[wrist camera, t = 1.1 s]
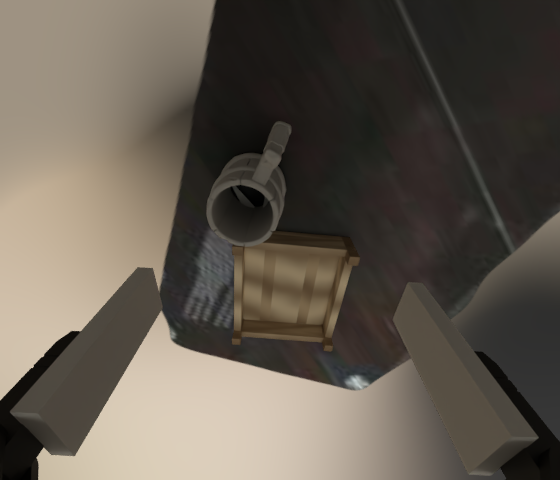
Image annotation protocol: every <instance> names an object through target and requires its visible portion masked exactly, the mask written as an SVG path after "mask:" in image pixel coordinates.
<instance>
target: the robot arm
mask: <svg viewBox="0 0 560 480" xmlns="http://www.w3.org/2000/svg"><path fill="white" fill-rule="evenodd" d="M162 308H163V306H162V302H161V298H160V295H159V291H158V287H157V283H156V279H155V275H154V271H153V268H139V267H138V268H137V269H136V270H135V271H134V272H133V273H132V275H131V276H130V277H129V278H128V279H127V280H126V281H125V282H124V283H123V285H122V286H121V287H120V288H119V289H118V290H117V291H116V292H115V294H114V295H113V296H112V297H111V298H110V299H109V300H108V301H107V303H106V304H105V305H104V306H103V307H102V308H101V309H100V310H99V312H98V313H97V314H96V315H95V316H94V317H93V319H92V320H91V321H90V322H89V323H88V324H87V325H86V326H85V327H84V329H83V330H82V331H80V332H79V331H71V332H70V333H69V334H67V335H65V336H64V337H62V338H61V339H60V340H58V341H57V342H56V343H55V344H54V345H53V346H52V347H51V348H50V349H49V350H48V351H47V352H46V353H45V354H44V357H42V358H40V360H39V361H38V362H37V363H36V364H35V365H34V367H33V368H31V369H30V370H29V371H28V372H27V373H26V374H25V375H24V376H23V377H22V378H21V380H19V382H18V383H17V384H16V385H15V386H14V387H13V388H12V389H11V390H10V391H9V392H8V393H7V394H6V395H5V396H4V397H3V398H2V399H1V400H0V480H38V461H37V458H36V457H37V456H38V455H39V453H40V451H41V450H42V449H43V447H44V448H45V449H46V450H47V451H48V452H49V453H50V454H51V455H65V456H75V455H76V453H77V451H78V449H79V448H80V446H81V444H82V443H83V441H84V439H85V438H86V436H87V434H88V433H89V431H90V429H91V428H92V426H93V424H94V423H95V421H96V419H97V418H98V416H99V414H100V412H101V411H102V409H103V407H104V406H105V404H106V402H107V401H108V399H109V397H110V396H111V394H112V392H113V390H114V389H115V387H116V386H117V384H118V382H119V380H120V379H121V377H122V375H123V374H124V372H125V370H126V369H127V367H128V365H129V364H130V362H131V360H132V359H133V357H134V355H135V354H136V352H137V350H138V348H139V346H140V345H141V343H142V342H143V340H144V338H145V337H146V335H147V333H148V332H149V330H150V328H151V326H152V325H153V323H154V321H155V320H156V318H157V316H158V315H159V313H160V311H161V310H162ZM393 322H394V324H395V326H396V328H397V330H398V332H399V334H400V336H401V338H402V340H403V342H404V344H405V346H406V348H407V350H408V352H409V354H410V356H411V358H412V360H413V362H414V365H415V367H416V369H417V371H418V372H419V374H420V377H421V379H422V381H423V383H424V385H425V387H426V389H427V391H428V393H429V395H430V397H431V399H432V401H433V403H434V405H435V407H436V409H437V411H438V414H439V416H440V417H441V420H442V422H443V424H444V426H445V427H446V430H447V432H448V434H449V436H450V438H451V440H452V442H453V444H454V446H455V448H456V450H457V452H458V454H459V456H460V458H461V460H462V462H463V464H464V467H465V469H466V471H467V473H468V474H469V475H492V474H493V473H495V472H496V471H497V470H498V469H500V468H501V470H502V472H503V473H504V475H505V477H506V480H560V442H559V440H558V439H557V438H556V437H555V436H554V435H553V433H552V432H551V431H550V430H549V429H548V427H547V426H546V425H545V423H544V422H543V421H542V420H541V418H540V417H539V416H538V415H537V413H536V412H535V411H534V410H533V408H532V407H531V406H530V405H529V404H528V402H527V401H526V400H525V399H524V397H523V396H522V395H521V394H520V392H517V388H516V387H515V386H514V385H513V384H512V382H511V381H510V380H508V378H507V376H506V375H505V374H504V373H503V371H502V370H501V369H500V367H499V366H498V365H497V364H496V363H495V362H494V361H492V360H491V359H490V358H489V357H488V356H487V355H486V354H484V353H483V352H476V351H473V350H472V348H471V347H470V346H469V344H468V343H467V342H466V340H465V339H464V338H463V336H462V335H461V334H460V332H459V331H458V330H457V328H456V327H455V326H454V324H453V323H452V322H451V320H450V319H449V318H448V316H447V315H446V314H445V312H444V311H443V310H442V308H441V307H440V306H439V304H438V303H437V302H436V300H435V299H434V298H433V296H432V295H431V294H430V292H429V291H428V290H427V288H426V287H425V286H424V284H423V283H411V282H408V283H407V286H406V288H405V291H404V293H403V295H402V298H401V300H400V303H399V305H398V308H397V310H396V313H395V315H394V318H393Z"/></svg>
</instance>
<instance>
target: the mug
mask: <svg viewBox="0 0 560 480" xmlns="http://www.w3.org/2000/svg"><path fill="white" fill-rule="evenodd" d="M290 134H291V125H290V124H287V123H285V122H282V121H278V122H275V124H274V126H273V127H272V129H271V132H270V134H269V137H268V142H267V144H266V146H265V148H264V150H263V154H258V153H244V154H241V155H238V156H235V157H233V158H232V159H231V160H230V161H229V162H228V163H227V164H226V165H225V167H224V169H223V170H222V172H221V175H220V176H219V177H218V178H217V180H216V181H215V183H214V185H213V187H212V189H211V194H210V196H209V198H208V201H207V219H208V222H209V225H210V227H211V229H212V230H214V232H215V233H216V234H217V235H218V236H219V237H220V238H223V239H226V240H227V241H228V242H229V243H232V244H234V245H237V246H244V245H245V247H250V246H255V245H258V244H260V243H262V242H264V241H266V240H267V239H268V238H269V237H270V236H271V234H272V232H273V231H275V230H276V227H277V225H278V221H279V219H280V217H281V214H282V211H283V207H284V197H285V193H286V184H285V178H284V175H283V173H282V171H281V169H280V168H279V166H278V164H279V163H280V161H281V155H282V153H284V150H285V147H286V144H287V142H288V139H289V136H290ZM236 185H245V186H249V187H252V188H254V189H256V190H258V191H260V192H261V193H262V194H263V195H264V196H265V198H264V204H263V206H260V207H255V206H254V205H253V204H252V203H251V202H250V201H249V200H248V199H247V198H246V197H245V196H244V195H243V194H242V192H241V191H240V190H239V189H238V188H237V187H236ZM231 186H232V187H233V189H234V191H235V193H236V195H237V197H238V199H239V201H238V200H237V198H236V197H235V196H233V195H234V194H233V193H232V191H231V188H230V187H231ZM269 201H270V202H269ZM268 202H269V203H268ZM267 203H268V204H267Z"/></svg>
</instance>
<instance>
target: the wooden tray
mask: <svg viewBox="0 0 560 480" xmlns="http://www.w3.org/2000/svg"><path fill="white" fill-rule="evenodd" d="M232 255H235V259H234V333H233V338H232V344H237V345H240V344H241V338H242V336H243V337H257V338H270V339H284V340H297V341H311V342H322V344H323V350H324V351H332V348H333V343H332V339H331V337H332V334H333V330H334V327H335V323H336V320H337V317H338V313H339V310H340V306H341V303H342V299H343V296H344V293H345V289H346V286H347V282H348V279H349V275H350V272H351V269H352V266H358V263H359V259H360V256H359V255H358V253H357V251H356V249H355V247H354V245H353V243H352V241H351V239H350V237H339V236H328V235H317V234H306V233H295V232H284V231H273V232H272V234H271V236H270V237H269V238H268V239H267V240H266V241H264V242H262V243H260V244H258V245H255V246H250V247H245V245H244V246H237V245H234V244H233V246H232Z"/></svg>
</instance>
